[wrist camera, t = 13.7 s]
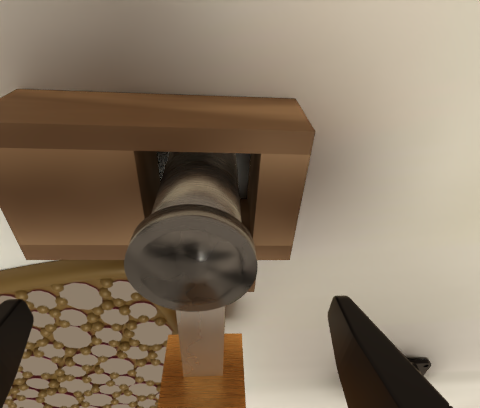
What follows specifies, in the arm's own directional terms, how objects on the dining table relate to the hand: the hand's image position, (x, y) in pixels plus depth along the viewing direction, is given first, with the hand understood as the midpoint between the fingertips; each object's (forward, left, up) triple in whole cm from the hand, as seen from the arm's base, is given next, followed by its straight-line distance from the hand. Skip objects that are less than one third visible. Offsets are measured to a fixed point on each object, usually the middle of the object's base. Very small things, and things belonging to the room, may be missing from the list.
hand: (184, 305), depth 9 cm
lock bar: (-9, 0, -6) cm, 11 cm away
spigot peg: (0, 0, -9) cm, 9 cm away
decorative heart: (-21, +12, -10) cm, 26 cm away
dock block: (0, +2, -9) cm, 10 cm away
